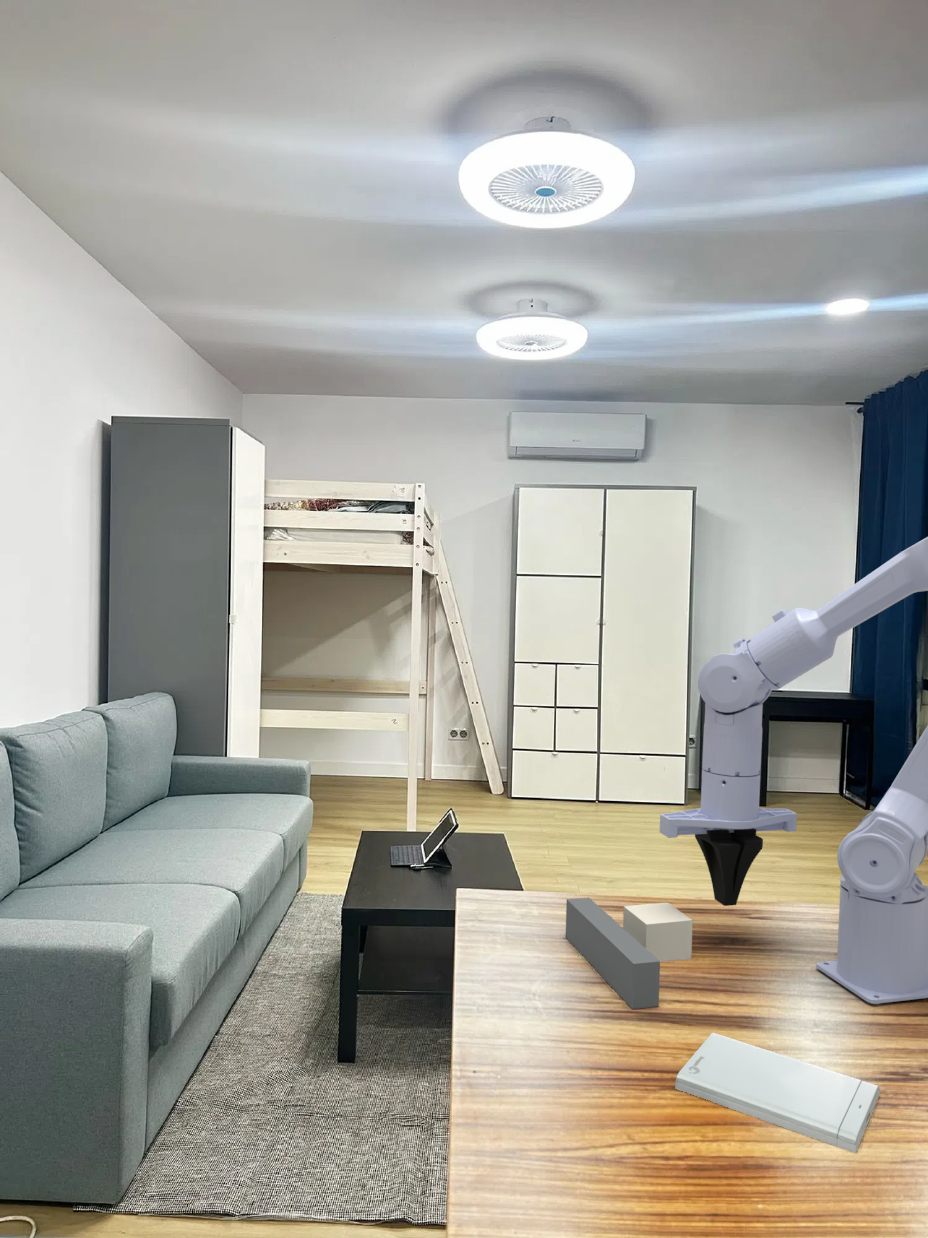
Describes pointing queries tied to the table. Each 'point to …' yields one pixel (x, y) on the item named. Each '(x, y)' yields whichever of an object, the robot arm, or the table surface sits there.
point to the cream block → (660, 930)
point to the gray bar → (613, 953)
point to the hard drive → (780, 1090)
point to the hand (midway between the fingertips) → (725, 902)
